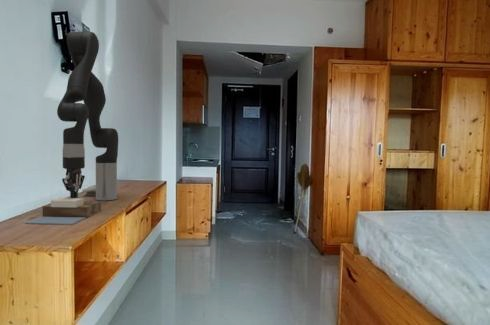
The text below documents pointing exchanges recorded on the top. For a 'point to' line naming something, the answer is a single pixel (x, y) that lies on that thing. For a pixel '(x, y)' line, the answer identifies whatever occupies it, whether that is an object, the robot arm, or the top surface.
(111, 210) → the top surface
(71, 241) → the top surface
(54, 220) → the mat
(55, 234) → the top surface
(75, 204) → the cream thick tile
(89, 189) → the packaged product
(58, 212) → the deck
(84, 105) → the robot arm
